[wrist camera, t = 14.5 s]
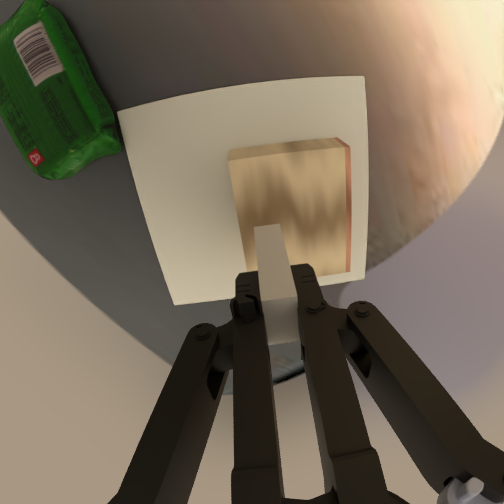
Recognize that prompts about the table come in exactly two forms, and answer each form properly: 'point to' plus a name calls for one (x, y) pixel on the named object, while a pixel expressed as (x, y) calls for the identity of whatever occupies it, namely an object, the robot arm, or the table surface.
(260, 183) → the oak slab
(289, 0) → the table surface
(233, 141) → the cream board
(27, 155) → the snack package
